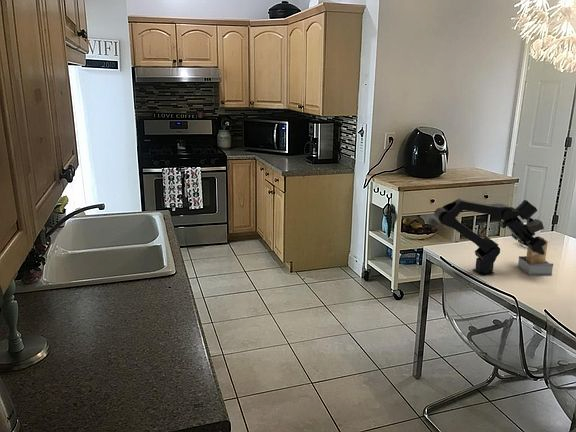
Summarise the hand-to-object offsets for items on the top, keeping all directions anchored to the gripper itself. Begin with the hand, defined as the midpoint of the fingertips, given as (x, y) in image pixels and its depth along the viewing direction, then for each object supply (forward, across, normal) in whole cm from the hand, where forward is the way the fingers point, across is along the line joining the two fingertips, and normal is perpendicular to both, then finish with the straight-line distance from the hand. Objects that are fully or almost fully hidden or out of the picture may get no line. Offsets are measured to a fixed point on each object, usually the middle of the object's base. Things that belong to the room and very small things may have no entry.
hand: (539, 251), depth 205 cm
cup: (+15, +31, -2) cm, 35 cm away
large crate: (+5, 0, +7) cm, 9 cm away
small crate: (+4, 0, +6) cm, 7 cm away
